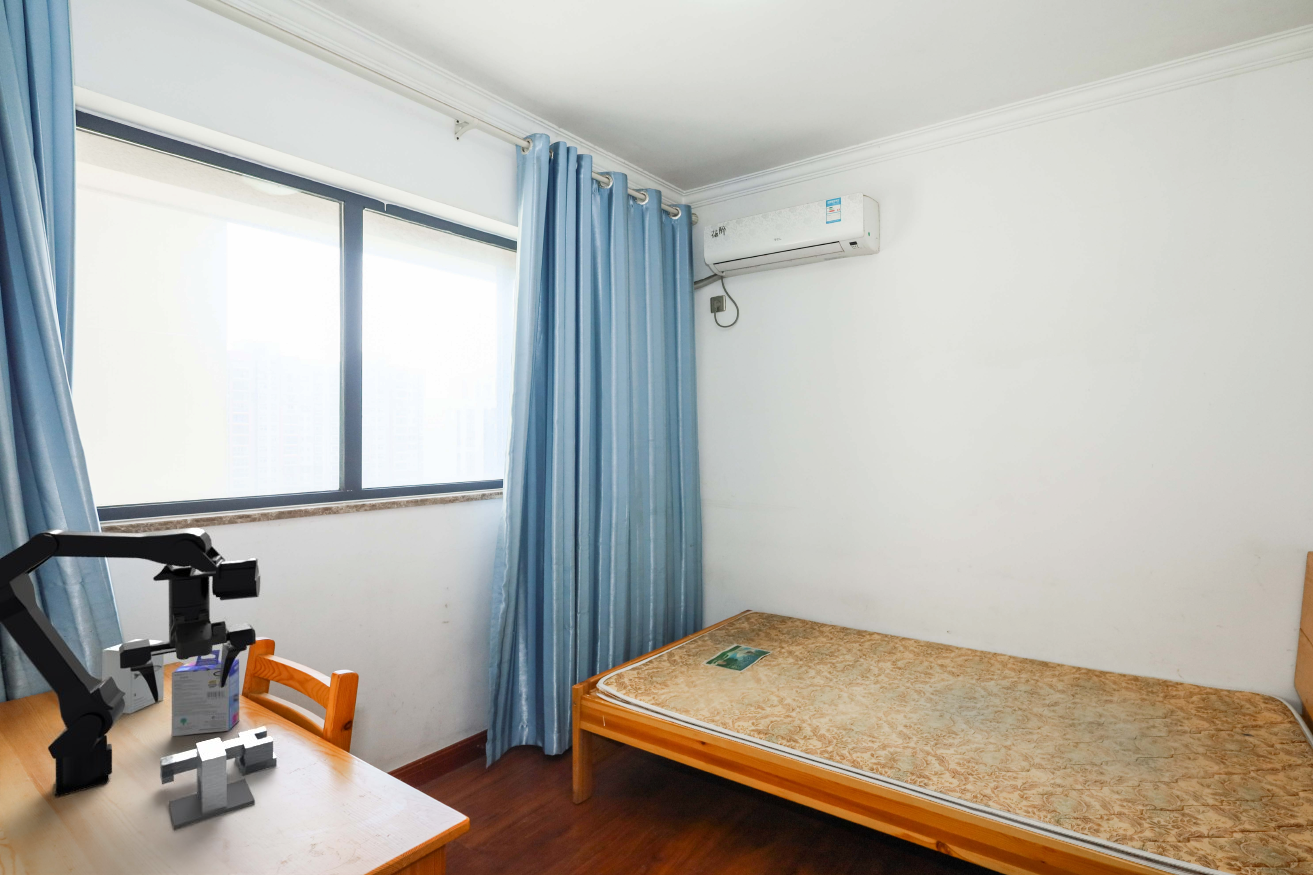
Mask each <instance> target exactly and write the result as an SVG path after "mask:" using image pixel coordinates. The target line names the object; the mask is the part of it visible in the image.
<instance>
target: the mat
mask: <svg viewBox="0 0 1313 875" xmlns="http://www.w3.org/2000/svg"><path fill="white" fill-rule="evenodd" d="M255 804H256V801H255V797H254V795H253V793H252V791H251V789H250V786H249V784H248V782H247V780H246V778H242V779H239V780H236V781H233V782H229V783H227V807H225V808H222V809H219V810H216V811H213V812H209V813H206V814H202V811H201V798H199V799H198V797H197V792H196V793H192V794H189V795H186V796H183V797H179V798H175V799H172V800H170V801H168V807H169V808H168V809H169V813H170V817H171V822H172V826H173V830H174V831H175V830H178V829H181V828H184V827H186V826H190V825H194V824H197V823H200V822H202V821H206V820H208V819H212V818H215V817H217V816H221V815H224V814H227V813H231V812H234V811H237V810H240V809H243V808H246V807H249V806H252V805H255Z"/></svg>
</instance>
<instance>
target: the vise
mask: <svg viewBox="0 0 1313 875" xmlns="http://www.w3.org/2000/svg"><path fill="white" fill-rule="evenodd" d="M221 742H222V745H223V747H224V750H225V752H226V761H228V760H233V759H234V760H235V763H236V765H237V768H238V770H239V772H240V774H241V776H243V777H244V776H247V775H250V774H254V773H257V772H260V771H265V770H268V769H272V768H274V767H277V766H278V765H277V759H278V758H277V756H276V754H275V752H274V740H273V737H271V736H268V729H267V728H266V726H265V725H264V726H261V727H256V728H253V729H249V730H246V731H245V730H244V731H241V732H238V737H236V738H232V739H229V740H225V741H221ZM159 762H160V763H159V764H160V765H159V766H160V768H159V769H160V772H159V773H160V774H159V776H160V777H159V778H160V780H161V785H165V784H168V783H169V784H170V783H172V782H174V781H175V775H179V774H181V773H185V772H188V771H192V770H197V749H196V748H195V749H191V750H187V751H183V752H179V753H175V754H171V755H166V756H164V757H160V758H159Z"/></svg>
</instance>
